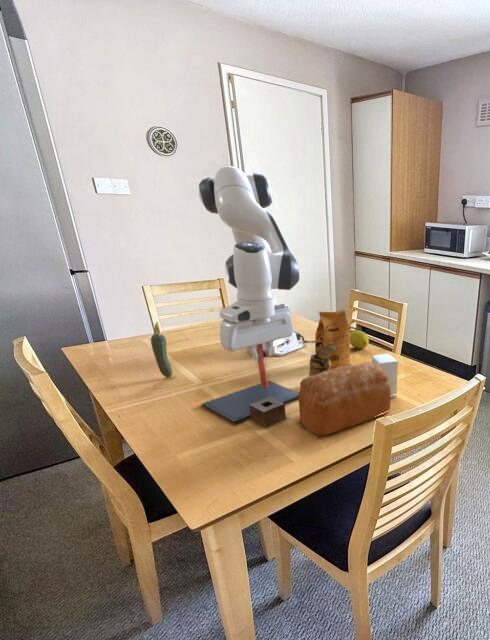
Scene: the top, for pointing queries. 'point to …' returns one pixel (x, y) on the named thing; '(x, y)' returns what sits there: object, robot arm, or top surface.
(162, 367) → the vegetable
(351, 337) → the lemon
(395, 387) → the small box
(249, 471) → the top surface
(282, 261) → the robot arm
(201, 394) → the top surface
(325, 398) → the bread
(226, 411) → the tablet
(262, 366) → the red rod
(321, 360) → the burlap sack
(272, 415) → the holder
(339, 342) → the coffee package
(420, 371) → the top surface
